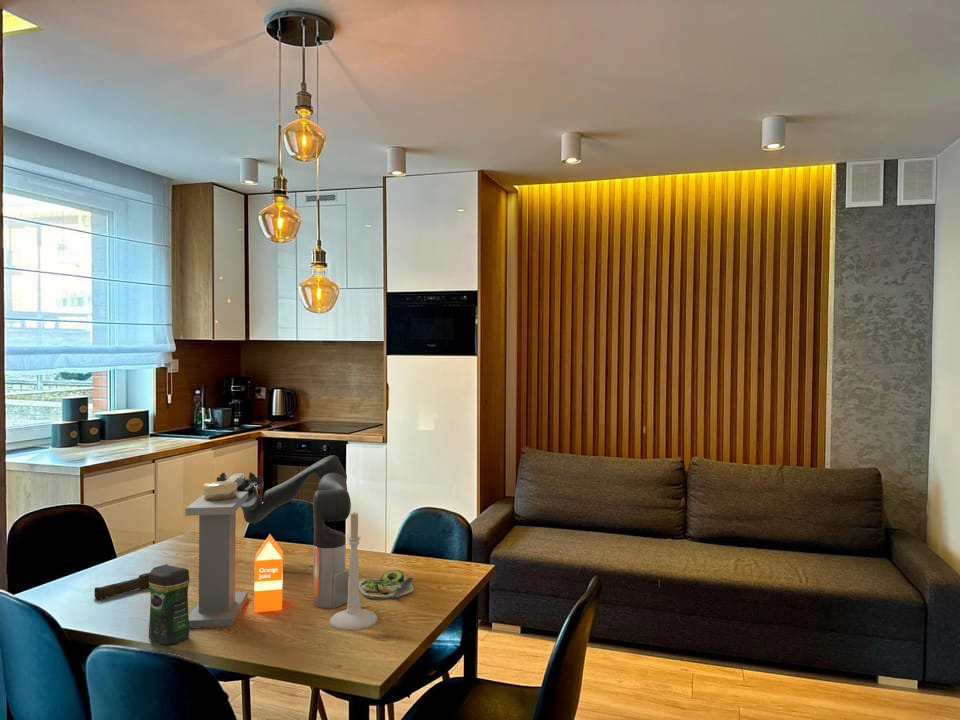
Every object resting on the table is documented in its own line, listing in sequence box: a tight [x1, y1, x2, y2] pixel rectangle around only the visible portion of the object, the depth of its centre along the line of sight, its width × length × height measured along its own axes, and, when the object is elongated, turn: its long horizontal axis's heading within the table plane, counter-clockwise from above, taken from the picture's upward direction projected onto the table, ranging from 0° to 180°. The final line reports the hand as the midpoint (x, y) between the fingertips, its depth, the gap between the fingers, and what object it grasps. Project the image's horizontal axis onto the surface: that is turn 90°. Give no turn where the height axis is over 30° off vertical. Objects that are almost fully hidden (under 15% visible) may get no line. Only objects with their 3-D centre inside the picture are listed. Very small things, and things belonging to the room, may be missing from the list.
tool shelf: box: [185, 492, 249, 629], centre depth 194 cm, size 22×12×32 cm, turn 8°
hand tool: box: [93, 572, 150, 601], centre depth 210 cm, size 19×4×5 cm, turn 138°
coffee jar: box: [148, 564, 191, 646], centre depth 175 cm, size 10×8×19 cm
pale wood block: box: [203, 472, 245, 501], centre depth 207 cm, size 30×9×4 cm, turn 8°
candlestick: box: [329, 511, 378, 631], centre depth 188 cm, size 13×13×30 cm
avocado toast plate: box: [359, 569, 415, 600], centre depth 213 cm, size 19×18×5 cm
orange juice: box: [253, 533, 284, 613], centre depth 200 cm, size 8×9×20 cm
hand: (236, 475), depth 218 cm, fingers open, 8 cm apart
